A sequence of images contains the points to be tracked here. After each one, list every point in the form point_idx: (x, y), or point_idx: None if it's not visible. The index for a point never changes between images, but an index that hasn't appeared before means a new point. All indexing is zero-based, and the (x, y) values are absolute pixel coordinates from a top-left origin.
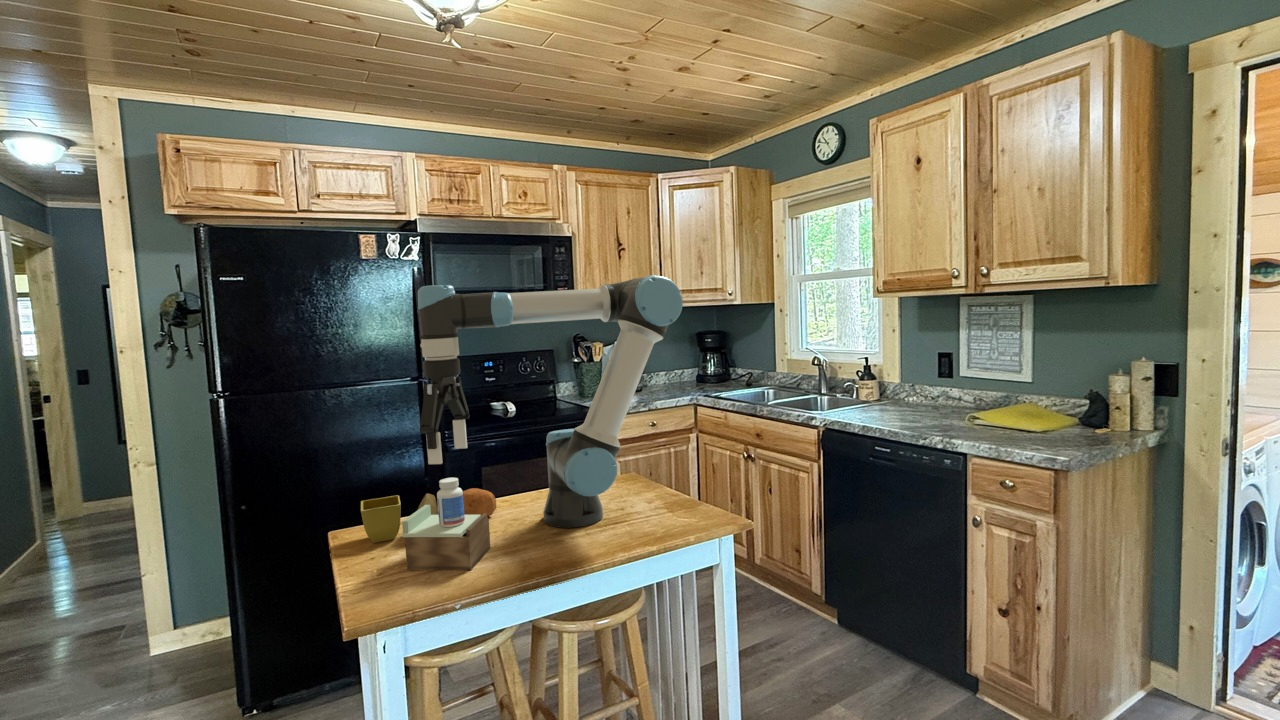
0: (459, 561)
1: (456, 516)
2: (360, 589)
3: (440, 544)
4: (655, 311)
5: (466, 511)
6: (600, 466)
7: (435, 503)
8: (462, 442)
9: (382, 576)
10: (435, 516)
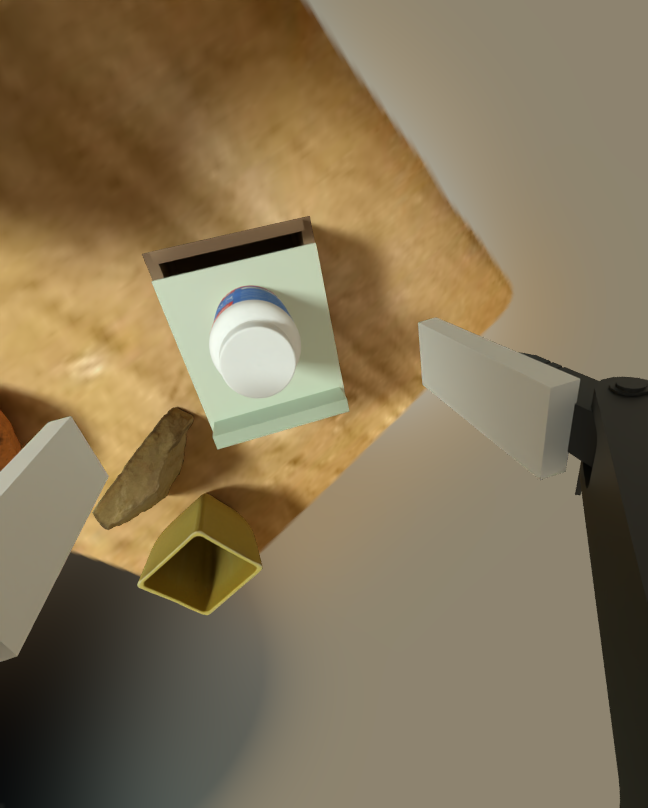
0: None
1: (271, 294)
2: (408, 383)
3: None
4: None
5: (15, 442)
6: None
7: (116, 483)
8: (66, 456)
9: (358, 386)
10: (217, 405)
